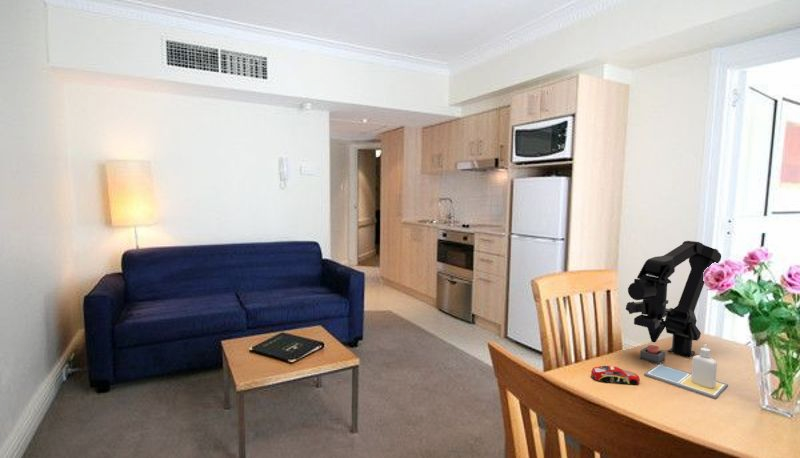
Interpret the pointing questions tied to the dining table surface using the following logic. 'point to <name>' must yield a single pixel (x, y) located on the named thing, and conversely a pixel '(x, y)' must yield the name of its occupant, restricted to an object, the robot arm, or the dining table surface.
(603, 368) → the race car
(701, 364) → the eye dropper bottle
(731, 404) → the dining table surface
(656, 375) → the grey flat rectangular board
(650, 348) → the button
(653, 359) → the button housing
